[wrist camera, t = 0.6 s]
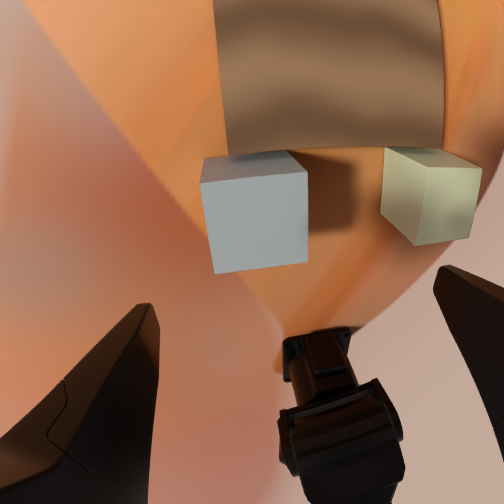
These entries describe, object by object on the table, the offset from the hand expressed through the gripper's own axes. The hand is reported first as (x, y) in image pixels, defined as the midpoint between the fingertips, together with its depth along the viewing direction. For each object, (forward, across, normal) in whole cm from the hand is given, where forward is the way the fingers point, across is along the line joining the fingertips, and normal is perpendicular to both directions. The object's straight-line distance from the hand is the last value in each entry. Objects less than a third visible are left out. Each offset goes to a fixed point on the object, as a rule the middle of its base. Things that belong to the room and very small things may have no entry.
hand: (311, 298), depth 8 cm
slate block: (+12, +1, +1) cm, 12 cm away
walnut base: (+12, -5, -9) cm, 16 cm away
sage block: (+12, -11, 0) cm, 16 cm away
